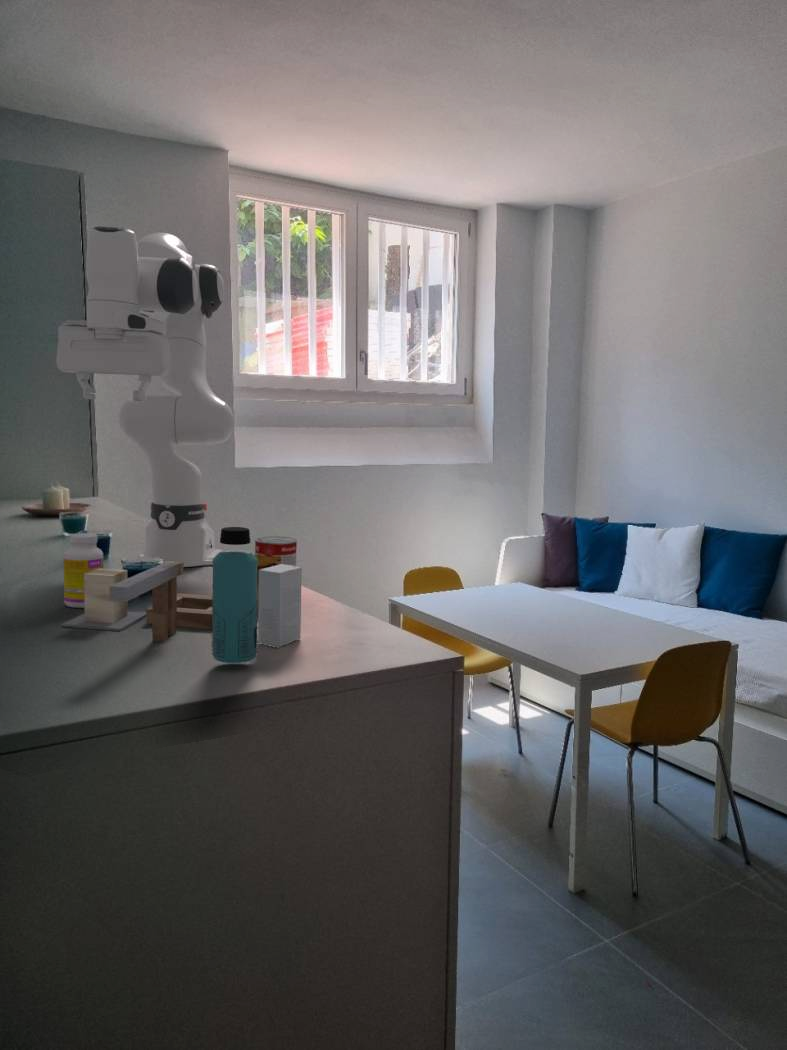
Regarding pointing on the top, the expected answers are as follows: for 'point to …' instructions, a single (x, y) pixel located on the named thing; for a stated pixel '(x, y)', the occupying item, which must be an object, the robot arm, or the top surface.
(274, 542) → the canned food
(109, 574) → the birch block
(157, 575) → the grey sliding bar
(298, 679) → the top surface
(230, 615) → the beverage bottle
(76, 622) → the mat
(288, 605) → the skincare box
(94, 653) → the top surface
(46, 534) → the top surface
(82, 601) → the supplement bottle
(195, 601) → the holder
